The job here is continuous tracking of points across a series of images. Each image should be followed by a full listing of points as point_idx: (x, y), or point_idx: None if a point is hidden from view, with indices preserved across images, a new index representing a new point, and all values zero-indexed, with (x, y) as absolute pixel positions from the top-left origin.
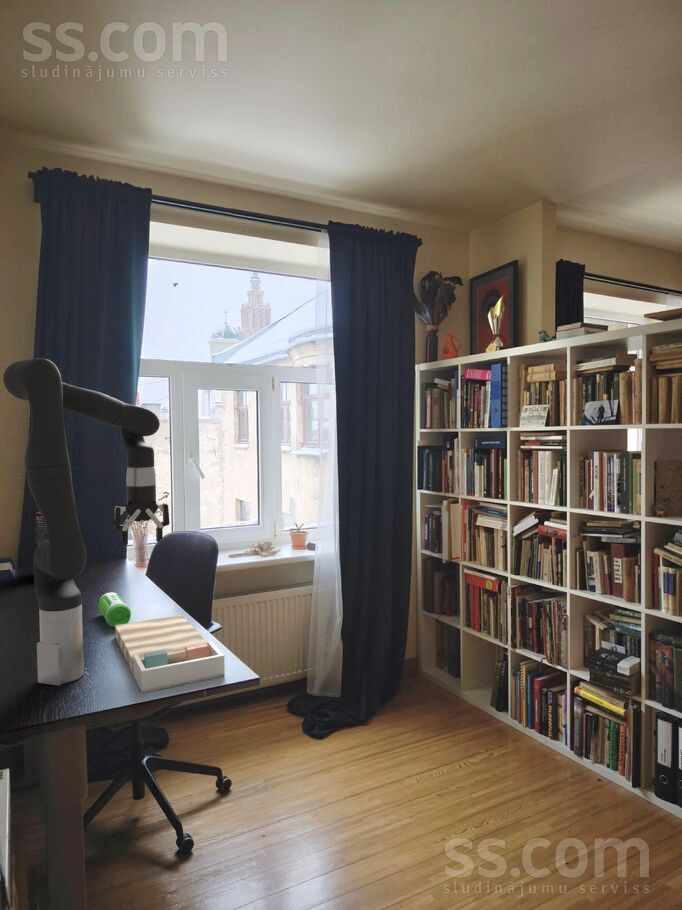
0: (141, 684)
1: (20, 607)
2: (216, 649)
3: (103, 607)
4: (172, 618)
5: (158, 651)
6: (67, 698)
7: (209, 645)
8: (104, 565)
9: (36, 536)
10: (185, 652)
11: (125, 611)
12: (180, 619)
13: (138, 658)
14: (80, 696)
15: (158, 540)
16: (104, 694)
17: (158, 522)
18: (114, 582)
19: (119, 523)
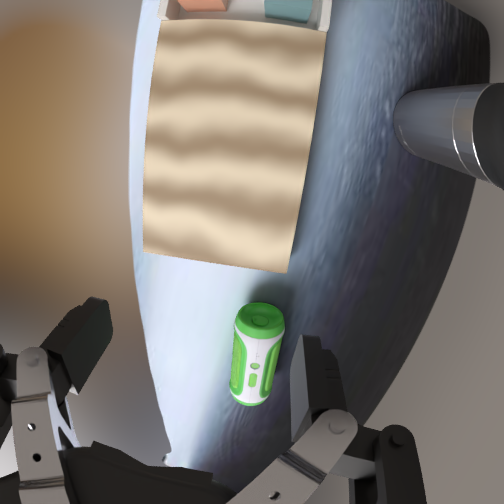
0: None
1: None
2: None
3: (276, 362)
4: (166, 241)
5: (280, 1)
6: (430, 39)
7: (168, 3)
8: None
9: None
10: (222, 1)
11: (246, 322)
12: (153, 224)
13: (324, 6)
14: (414, 30)
15: (98, 300)
16: (382, 9)
17: (28, 386)
18: (208, 457)
19: (386, 469)
